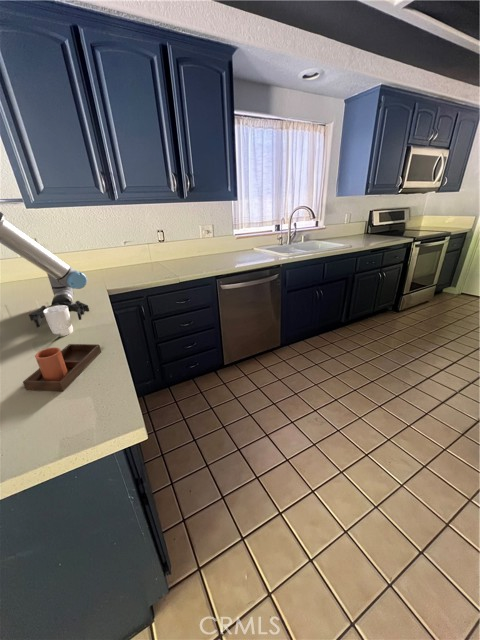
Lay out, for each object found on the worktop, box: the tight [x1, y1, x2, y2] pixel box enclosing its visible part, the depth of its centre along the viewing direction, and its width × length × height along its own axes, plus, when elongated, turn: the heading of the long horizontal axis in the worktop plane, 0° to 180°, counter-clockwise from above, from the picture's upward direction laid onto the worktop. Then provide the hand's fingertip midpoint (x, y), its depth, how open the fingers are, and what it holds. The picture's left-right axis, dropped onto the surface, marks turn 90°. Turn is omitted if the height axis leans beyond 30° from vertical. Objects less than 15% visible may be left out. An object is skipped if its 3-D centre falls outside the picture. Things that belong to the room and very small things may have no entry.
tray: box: [22, 343, 102, 392], centre depth 81 cm, size 10×20×3 cm, turn 178°
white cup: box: [43, 305, 74, 338], centre depth 101 cm, size 8×8×10 cm
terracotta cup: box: [34, 346, 68, 381], centre depth 75 cm, size 6×6×9 cm
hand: (58, 320), depth 100 cm, fingers open, 13 cm apart
